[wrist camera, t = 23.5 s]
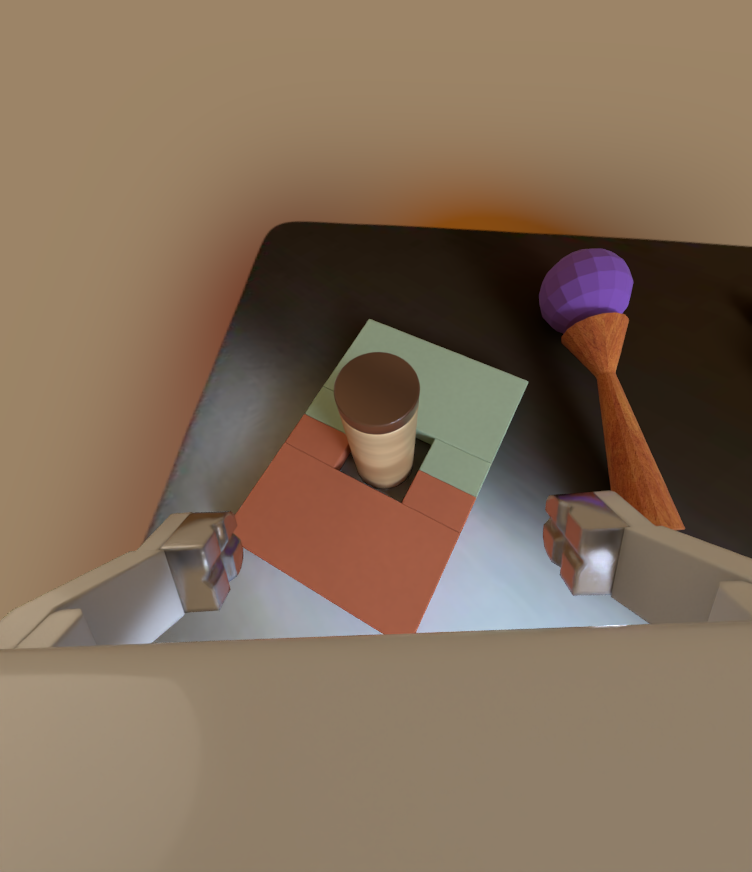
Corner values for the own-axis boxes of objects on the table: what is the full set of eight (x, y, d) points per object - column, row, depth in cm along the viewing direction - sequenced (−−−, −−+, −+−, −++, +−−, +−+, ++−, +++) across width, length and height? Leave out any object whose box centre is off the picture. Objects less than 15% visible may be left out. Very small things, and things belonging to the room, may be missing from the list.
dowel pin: (398, 498, 25) (397, 440, 16) (346, 474, 26) (317, 405, 17) (422, 448, 27) (434, 368, 17) (372, 426, 28) (358, 340, 18)
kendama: (610, 530, 20) (539, 239, 26) (580, 537, 25) (527, 295, 32) (743, 522, 19) (633, 219, 25) (681, 532, 24) (604, 280, 31)
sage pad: (472, 503, 25) (476, 497, 23) (308, 422, 28) (304, 413, 27) (522, 391, 28) (529, 381, 27) (370, 330, 31) (369, 318, 30)
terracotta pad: (407, 646, 22) (408, 649, 20) (231, 537, 25) (221, 533, 23) (472, 503, 25) (476, 497, 23) (308, 422, 28) (304, 413, 27)
